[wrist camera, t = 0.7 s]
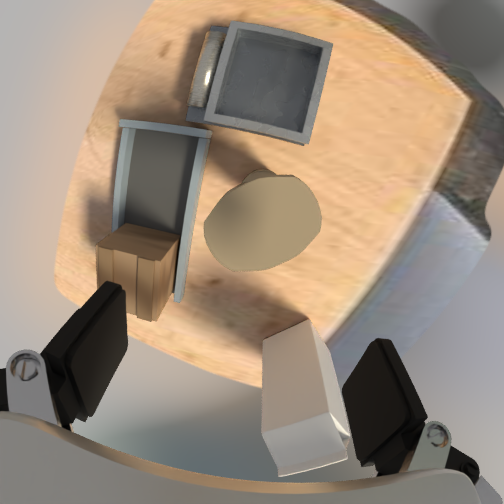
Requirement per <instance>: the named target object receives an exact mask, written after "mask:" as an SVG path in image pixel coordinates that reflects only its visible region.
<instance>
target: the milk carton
mask: <svg viewBox="0 0 504 504" xmlns="http://www.w3.org/2000/svg"><path fill="white" fill-rule="evenodd" d="M261 434H262V436H263V438H264V440H265V442H266V445H267V446H268V449H269V451H270V453H271V455H272V457H273V459H274V461H275V463H276V465H277V467H278V476H279V477H282V476H286V475H291V474H296V473H300V472H304V471H308V470H312V469H316V468H319V467H323V466H326V465H330V464H333V463H336V462H340V461H343V460H346V459H347V458H348V457H347V452H346V449H347V446H348V443H349V440H350V432H349V428H348V423H347V419H346V415H345V410H344V406H343V402H342V398H341V394H340V390H339V386H338V382H337V378H336V374H335V370H334V366H333V362H332V358H331V355H330V351H329V349H328V348H327V346H326V345H325V343H324V341H323V340H322V338H321V337H320V335H319V333H318V332H317V330H316V328H315V327H314V325H313V324H312V322H311V320H310V319H308V320H305V321H303V322H301V323H299V324H297V325H295V326H293V327H290V328H288V329H286V330H284V331H282V332H280V333H277V334H275V335H273V336H271V337H268V338H266V339H264V340H263V355H262V433H261Z"/></svg>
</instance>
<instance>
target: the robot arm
mask: <svg viewBox="0 0 504 504" xmlns="http://www.w3.org/2000/svg"><path fill="white" fill-rule="evenodd" d="M127 347H128V336H127V317H126V291H125V290H123V289H122V286H121V285H120V284H117V283H114V282H111V281H105V282H104V283H103V284H102V285H101V286H100V288H99V289H98V290H97V291H96V292H95V293H94V294H93V295H92V296H91V297H90V298H89V300H88V301H87V302H86V303H85V304H84V305H83V306H82V307H81V308H80V309H78V310H77V311H76V312H75V313H74V314H73V315H72V316H71V317H70V319H69V320H68V321H67V322H66V323H65V324H64V326H63V327H62V328H61V329H60V330H59V332H58V333H57V334H56V335H55V336H54V337H53V339H52V340H51V341H50V342H49V344H48V345H47V346H46V348H45V349H44V350H43V351H42V352H41V354H38V353H37V352H35V351H32V350H21V351H18V352H16V353H14V354H13V355H12V356H11V357H10V358H9V360H8V362H7V365H6V368H3V369H0V504H502V498H501V497H500V495H499V494H498V493H497V492H496V491H495V490H494V489H493V487H492V486H490V484H489V483H488V482H487V481H486V480H485V479H484V478H483V477H482V476H480V477H479V473H480V472H479V467H478V464H477V463H476V462H475V460H473V459H472V458H470V457H469V456H467V455H465V454H464V453H462V452H461V451H459V450H457V449H456V448H454V447H452V446H451V434H450V432H449V430H448V429H447V427H446V426H445V425H443V424H442V423H440V422H438V421H430V422H428V423H427V424H426V425H425V422H424V421H425V420H426V419H427V418H428V417H427V414H426V412H425V409H424V407H423V405H422V403H421V400H420V398H419V396H418V394H417V392H416V389H415V387H414V385H413V383H412V381H411V379H410V377H409V375H408V373H407V371H406V369H405V367H404V365H403V363H402V361H401V358H400V357H399V355H398V353H397V351H396V349H395V347H394V345H393V343H392V341H391V340H389V339H381V338H377V339H375V340H374V341H372V342H371V343H370V344H369V346H368V348H367V349H366V351H365V353H364V354H363V356H362V357H361V359H360V361H359V362H358V364H357V365H356V367H355V369H354V370H353V372H352V373H351V375H350V376H349V378H348V379H347V381H346V382H345V384H344V385H343V388H342V395H343V399H344V403H345V407H346V412H347V416H348V420H349V424H350V429H351V433H352V438H353V443H354V447H355V452H356V456H357V459H358V460H359V461H360V463H361V467H366V466H373V465H374V464H375V467H376V469H375V471H374V473H373V474H372V476H371V478H366V479H358V480H349V481H337V482H319V483H278V482H259V481H249V480H239V479H231V478H224V477H217V476H211V475H205V474H200V473H195V472H190V471H186V470H181V469H177V468H173V467H168V466H165V465H161V464H158V463H154V462H151V461H147V460H144V459H141V458H138V457H135V456H132V455H129V454H126V453H123V452H120V451H117V450H115V449H112V448H109V447H107V446H104V445H102V444H99V443H96V442H94V441H92V440H89V439H87V438H85V437H83V436H80V435H78V434H76V433H74V431H73V428H72V423H73V422H74V420H75V418H77V419H79V420H81V421H83V422H86V420H87V418H88V416H89V417H92V416H93V414H94V413H95V411H96V409H97V406H98V405H99V403H100V400H101V399H102V397H103V395H104V393H105V391H106V389H107V387H108V385H109V383H110V381H111V379H112V377H113V375H114V373H115V371H116V369H117V368H118V366H119V364H120V362H121V360H122V358H123V356H124V355H125V353H126V351H127Z"/></svg>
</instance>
